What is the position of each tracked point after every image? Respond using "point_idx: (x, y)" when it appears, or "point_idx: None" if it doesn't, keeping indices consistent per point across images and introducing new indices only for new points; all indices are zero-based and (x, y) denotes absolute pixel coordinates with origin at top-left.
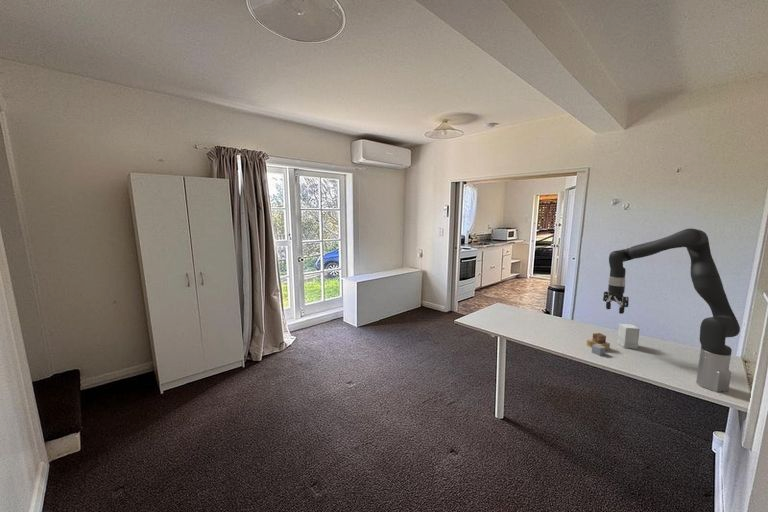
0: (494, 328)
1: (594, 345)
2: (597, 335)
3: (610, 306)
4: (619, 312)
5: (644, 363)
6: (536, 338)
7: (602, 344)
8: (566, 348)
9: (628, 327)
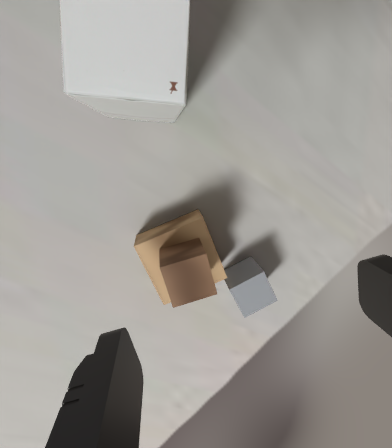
0: None
1: (246, 309)
2: (203, 297)
3: (117, 368)
4: (381, 319)
5: (331, 140)
6: None
7: (217, 259)
8: (203, 370)
9: (171, 72)
